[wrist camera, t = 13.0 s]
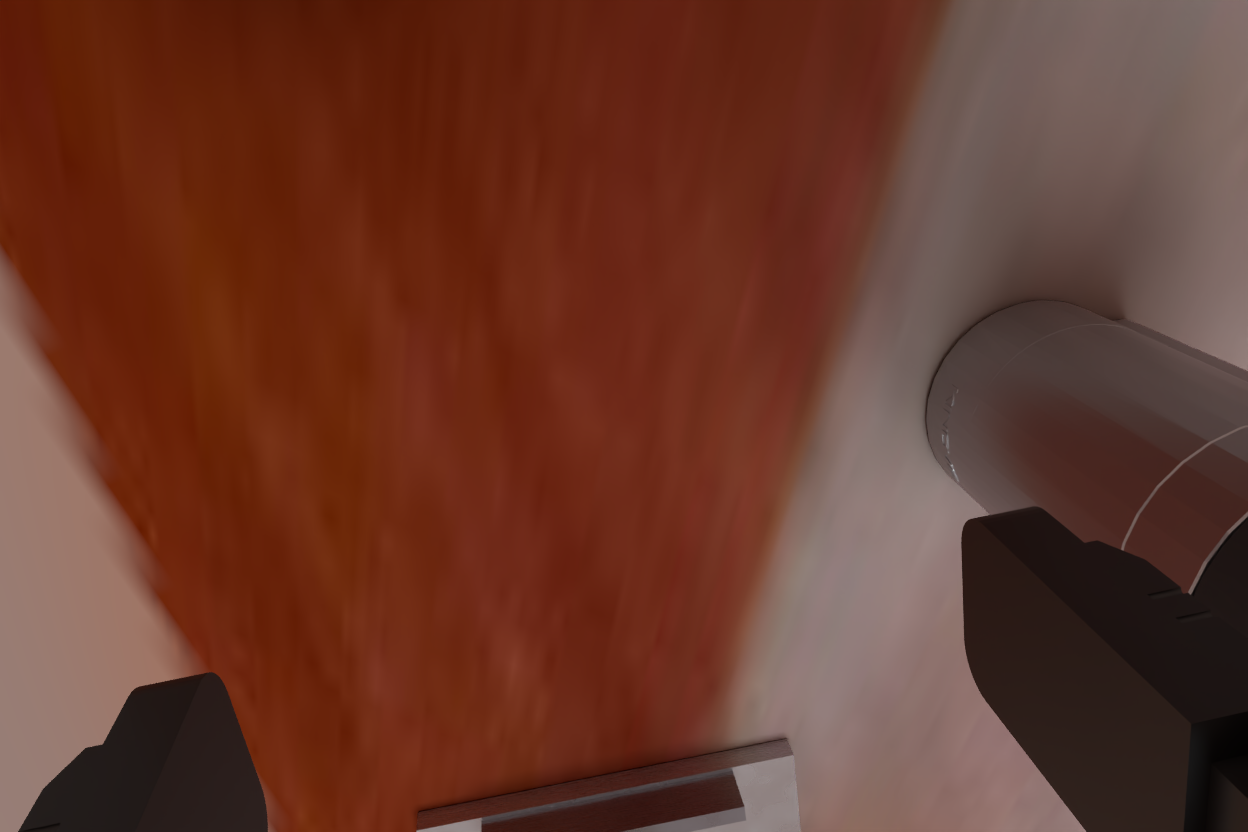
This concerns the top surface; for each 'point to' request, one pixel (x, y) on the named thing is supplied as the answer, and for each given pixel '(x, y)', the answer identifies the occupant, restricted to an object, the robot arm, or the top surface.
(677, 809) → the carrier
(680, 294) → the top surface
